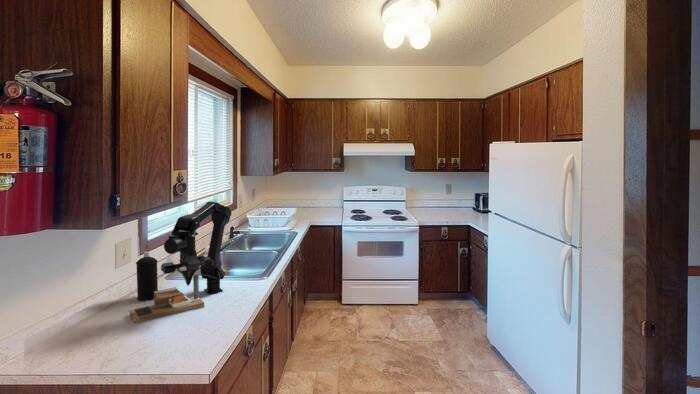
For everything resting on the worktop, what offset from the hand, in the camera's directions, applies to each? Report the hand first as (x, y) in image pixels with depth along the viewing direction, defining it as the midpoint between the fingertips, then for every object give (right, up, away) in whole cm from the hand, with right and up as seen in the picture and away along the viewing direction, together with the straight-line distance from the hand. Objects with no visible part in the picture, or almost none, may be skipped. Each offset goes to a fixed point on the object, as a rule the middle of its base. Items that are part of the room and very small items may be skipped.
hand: (188, 285), depth 148 cm
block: (-3, -7, -2) cm, 8 cm away
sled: (-1, -7, 0) cm, 7 cm away
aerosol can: (-21, -8, +9) cm, 24 cm away
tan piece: (-6, -9, -4) cm, 12 cm away
